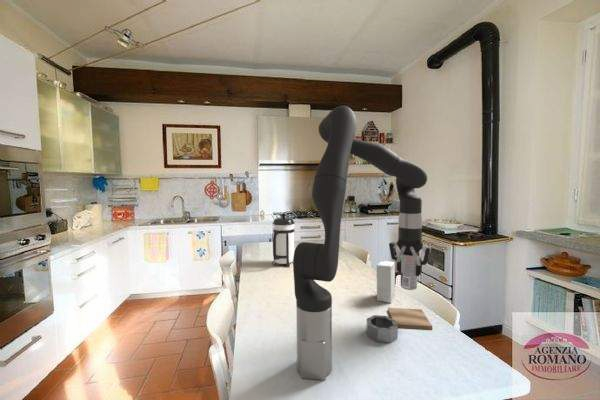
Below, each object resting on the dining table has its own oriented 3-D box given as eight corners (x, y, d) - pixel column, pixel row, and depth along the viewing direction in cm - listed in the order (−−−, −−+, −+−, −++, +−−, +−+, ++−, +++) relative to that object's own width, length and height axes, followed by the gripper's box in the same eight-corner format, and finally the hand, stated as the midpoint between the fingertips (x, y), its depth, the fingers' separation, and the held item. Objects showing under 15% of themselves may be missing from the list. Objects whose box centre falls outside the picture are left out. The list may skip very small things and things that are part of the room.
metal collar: (399, 343, 84) (399, 330, 83) (368, 341, 85) (368, 329, 85) (393, 327, 93) (393, 316, 92) (365, 326, 94) (365, 314, 94)
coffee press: (267, 261, 169) (266, 212, 167) (292, 259, 174) (292, 211, 171) (273, 270, 152) (272, 216, 150) (301, 267, 157) (300, 214, 155)
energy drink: (409, 283, 101) (409, 251, 100) (420, 288, 96) (421, 254, 95) (397, 285, 99) (397, 252, 98) (408, 291, 94) (408, 256, 93)
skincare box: (391, 303, 111) (391, 267, 109) (375, 300, 114) (376, 264, 112) (395, 295, 118) (395, 261, 117) (380, 293, 121) (381, 259, 120)
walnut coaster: (432, 329, 91) (432, 326, 91) (394, 327, 93) (394, 324, 93) (421, 312, 103) (421, 309, 103) (388, 310, 105) (388, 307, 105)
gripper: (385, 225, 97) (384, 272, 98) (429, 229, 88) (428, 281, 90) (392, 222, 103) (392, 267, 104) (435, 226, 94) (433, 275, 96)
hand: (409, 273), depth 97 cm, fingers closed on energy drink, 5 cm apart
